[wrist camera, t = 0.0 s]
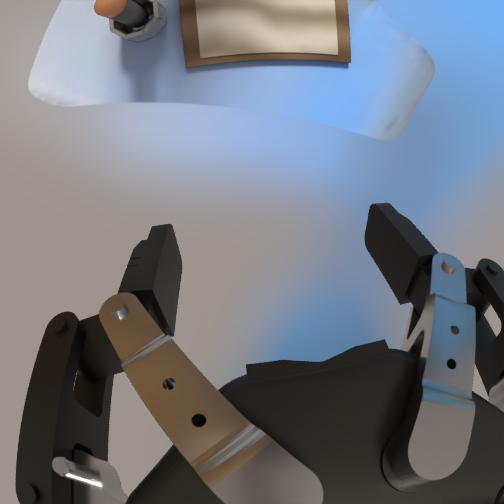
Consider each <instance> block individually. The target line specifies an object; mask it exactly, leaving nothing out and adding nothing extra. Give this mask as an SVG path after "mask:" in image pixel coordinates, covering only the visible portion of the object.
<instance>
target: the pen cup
mask: <svg viewBox="0 0 504 504" xmlns="http://www.w3.org/2000/svg"><path fill="white" fill-rule="evenodd" d="M132 1H133V2H135V3H136V4H138V5H139V6H141V7H142V8H144V9H145V10H147V11H148V12H149V15H150V17H149V22H148V23H147V24H146V25H145V26H142V27H139V28H134V27H131V26H128V25H126V24H123V23H121V22H118V21H115V20H112V19H109V21H110V31H111V32H113V33H115V34H117V35H118V36H120V37H122V38H124V39H127V40H131V41H135V42H139V41H143V40H147V39H151V38H155V37H156V35H157V34H158V33H159V32H160V31H161V30H162V28H163V27H164V26H165V25H166V23H167V20H166V9H165V7H163V6H162V5H161V4H160V3H159V2H158V1H157V0H132Z"/></svg>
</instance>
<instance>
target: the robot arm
mask: <svg viewBox="0 0 504 504" xmlns="http://www.w3.org/2000/svg"><path fill="white" fill-rule="evenodd" d="M365 245H366V248H367V250H368V252H369V253H370V255H371V256H372V258H373V259H374V261H375V263H376V264H377V266H378V267H379V269H380V271H381V272H382V274H383V276H384V277H385V279H386V281H387V282H388V284H389V286H390V287H391V289H392V291H393V292H394V294H395V296H396V297H397V300H398V301H399V303H400V305H401V304H405V303H409V302H411V303H412V304H413V306H412V308H411V310H410V314H409V319H408V324H407V328H406V333H405V337H404V341H403V345H402V348H401V350H398V349H389V348H388V346H387V343H386V341H385V340H381V341H376V342H372V343H368V344H364V345H360V346H355V347H353V348H351V349H349V350H347V351H345V352H343V353H341V354H339V355H337V356H334V357H332V358H330V359H328V360H326V361H323V362H309V361H308V362H307V361H292V360H279V361H271V362H264V363H256V364H246V369H247V374H246V375H244V376H241V377H238V378H236V379H234V380H232V381H230V382H229V383H227V384H225V385H224V386H223V387H221V388H220V389H219V390H217V389H216V388H215V387H214V386H213V385H212V384H211V383H210V381H209V380H207V378H206V377H205V376H204V375H203V374H202V373H201V372H200V371H199V370H198V368H197V367H196V366H195V365H194V364H193V363H192V362H191V360H190V359H189V358H188V357H187V356H186V355H185V354H184V352H183V351H182V350H181V349H180V348H179V346H178V345H177V344H176V343H175V342H174V340H173V339H172V338H171V336H174V331H175V321H176V313H177V304H178V296H179V289H180V281H181V274H182V260H181V255H180V251H179V248H178V244H177V240H176V237H175V233H174V230H173V226H172V225H171V224H165V225H158V226H152V228H151V230H150V233H149V236H148V239H147V240H142V241H140V243H139V244H138V245H137V246H136V247H135V248H134V249H133V252H132V254H131V257H130V260H129V262H128V265H127V268H126V270H125V273H124V276H123V279H122V282H121V285H120V288H119V291H118V294H116V295H113V296H112V297H110V298H108V299H107V300H106V301H105V302H104V303H103V305H102V307H101V309H100V311H99V314H98V315H95V316H92V317H89V318H86V319H83V320H81V321H79V319H78V318H77V317H76V315H75V314H74V313H72V312H62V313H60V314H58V315H56V316H55V317H54V318H53V319H52V320H51V321H50V322H49V324H48V325H47V328H46V330H45V333H44V336H43V339H42V342H41V345H40V348H39V351H38V354H37V358H36V361H35V364H34V368H33V372H32V376H31V380H30V383H29V387H28V392H27V396H26V401H25V406H24V411H23V416H22V422H21V428H20V435H19V443H18V452H17V464H16V494H17V497H18V500H19V502H20V504H504V271H503V269H502V268H501V267H500V266H499V265H498V264H497V263H495V262H494V261H492V260H490V259H481V260H480V261H479V263H478V265H477V267H476V269H470V268H464V266H463V264H462V263H461V262H460V261H459V260H458V259H457V258H456V257H454V256H452V255H450V254H446V253H438V252H437V250H436V249H435V248H434V247H433V246H432V244H431V243H430V242H429V241H428V240H427V239H426V238H425V236H424V235H422V234H421V232H420V231H419V230H418V229H416V226H415V225H414V224H413V223H412V222H411V221H410V220H409V219H408V218H406V217H404V216H403V215H401V214H399V213H398V212H397V211H396V210H395V209H394V207H392V205H391V204H389V203H377V204H372V205H371V206H370V209H369V214H368V220H367V226H366V231H365ZM490 304H491V305H492V307H493V308H494V310H495V312H496V313H497V315H498V317H499V318H500V320H501V325H502V326H501V331H500V333H499V334H498V336H497V337H496V336H495V334H494V332H493V330H492V328H491V327H490V325H489V323H488V321H487V320H486V318H485V316H484V314H485V312H486V310H487V309H488V307H489V306H490ZM474 364H475V365H476V367H477V369H478V372H479V374H480V376H481V379H482V381H483V384H484V386H485V389H486V391H487V394H488V397H489V401H487V400H485V399H484V398H482V397H481V396H479V395H477V394H476V393H474V392H473V391H472V386H473V377H474V376H473V375H474ZM121 372H125V373H126V375H127V377H128V378H129V380H130V382H131V383H132V385H133V387H134V388H135V390H136V391H137V393H138V395H139V396H140V398H141V399H142V401H143V402H144V404H145V405H146V407H147V408H148V410H149V411H150V413H151V414H152V416H153V417H154V418H155V420H156V421H157V423H158V424H159V425H160V427H161V428H162V429H163V431H164V432H165V433H166V435H167V436H168V437H169V438H170V440H171V441H172V443H173V445H172V447H171V448H170V449H169V450H168V452H167V453H166V454H165V455H164V456H163V457H162V459H161V460H160V461H159V462H158V463H157V464H156V466H155V467H154V468H153V469H152V470H151V472H150V473H149V474H148V475H147V476H146V477H145V478H144V480H143V481H142V482H141V483H140V484H139V485H138V486H137V487H136V489H135V490H134V491H133V492H132V493H131V494H130V496H129V497H127V496H126V494H125V493H124V492H123V490H122V488H121V482H120V479H119V476H118V473H117V471H116V470H115V468H114V467H113V466H112V465H111V464H110V463H108V435H109V433H108V432H109V417H110V405H111V396H112V386H113V378H114V374H117V373H121ZM76 373H77V375H76ZM75 378H76V380H75ZM74 383H75V386H74ZM73 389H74V391H73Z"/></svg>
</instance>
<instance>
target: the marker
mask: <svg viewBox="0 0 504 504" xmlns="http://www.w3.org/2000/svg"><path fill="white" fill-rule="evenodd" d="M94 10H95V12H96V14H98V15H100V16H103V17H106V18H109V19H112V20H115V21H118V22H121V23H123V24H126V25H128V26H131V27H134V28H139V27H142V26H145V25H146V24H147V23H148V22H149V17H150V15H149V12H148V11H147V10H145V9H144V8H142V7H141V6H139V5H138V4H136V3H135V2H133V1H132V0H96V2H95V5H94Z"/></svg>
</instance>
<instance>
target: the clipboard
mask: <svg viewBox="0 0 504 504" xmlns="http://www.w3.org/2000/svg"><path fill="white" fill-rule="evenodd" d="M179 2H180V14H181V25H182V35H183V45H184V54H185V63H186V68H189V67H195V66H202V65H209V64H217V63H226V62H237V61H251V60H276V59H296V60H322V61H335V62H346V63H351V48H350V29H349V15H348V3H347V0H179Z"/></svg>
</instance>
